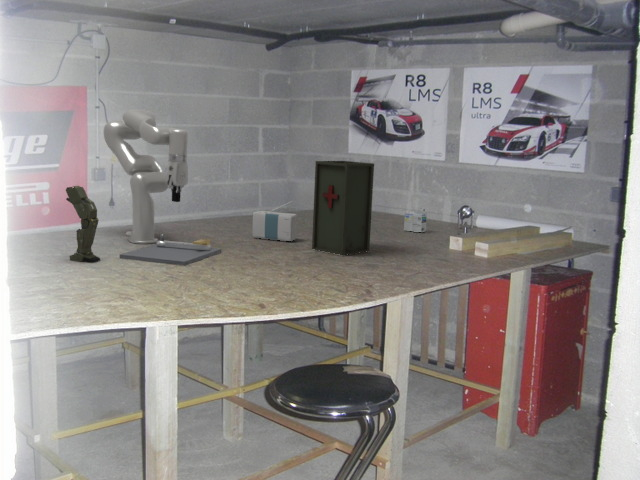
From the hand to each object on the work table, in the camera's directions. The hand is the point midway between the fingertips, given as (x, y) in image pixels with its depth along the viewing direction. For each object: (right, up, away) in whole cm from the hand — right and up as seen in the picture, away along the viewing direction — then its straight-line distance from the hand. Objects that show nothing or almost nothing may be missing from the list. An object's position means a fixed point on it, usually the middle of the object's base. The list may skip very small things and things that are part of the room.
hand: (175, 201), depth 290 cm
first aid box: (+71, -22, +17) cm, 76 cm away
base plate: (+1, -23, -10) cm, 25 cm away
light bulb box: (+114, -12, +85) cm, 143 cm away
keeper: (+12, -21, -4) cm, 24 cm away
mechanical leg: (-30, -25, -27) cm, 47 cm away
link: (+3, -20, -2) cm, 20 cm away
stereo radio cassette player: (+40, -17, +39) cm, 58 cm away
